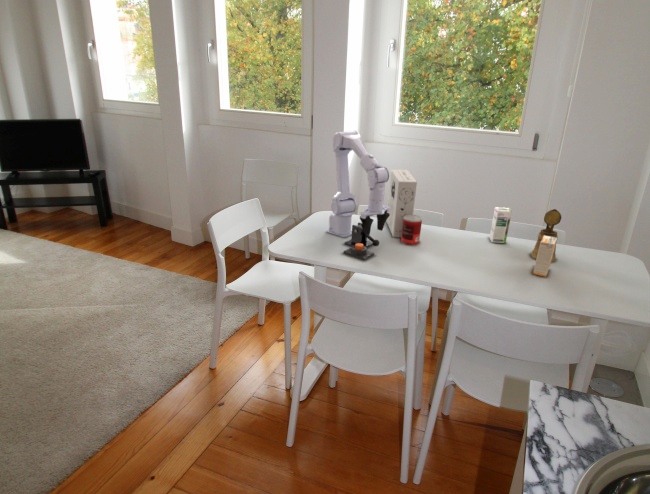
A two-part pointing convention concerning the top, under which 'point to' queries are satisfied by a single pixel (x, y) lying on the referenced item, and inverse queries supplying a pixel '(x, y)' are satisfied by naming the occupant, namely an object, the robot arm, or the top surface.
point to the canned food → (411, 229)
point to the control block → (359, 253)
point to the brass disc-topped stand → (548, 231)
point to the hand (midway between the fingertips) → (373, 232)
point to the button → (359, 246)
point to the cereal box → (400, 199)
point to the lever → (374, 242)
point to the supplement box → (544, 255)
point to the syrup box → (500, 225)
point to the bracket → (358, 237)
